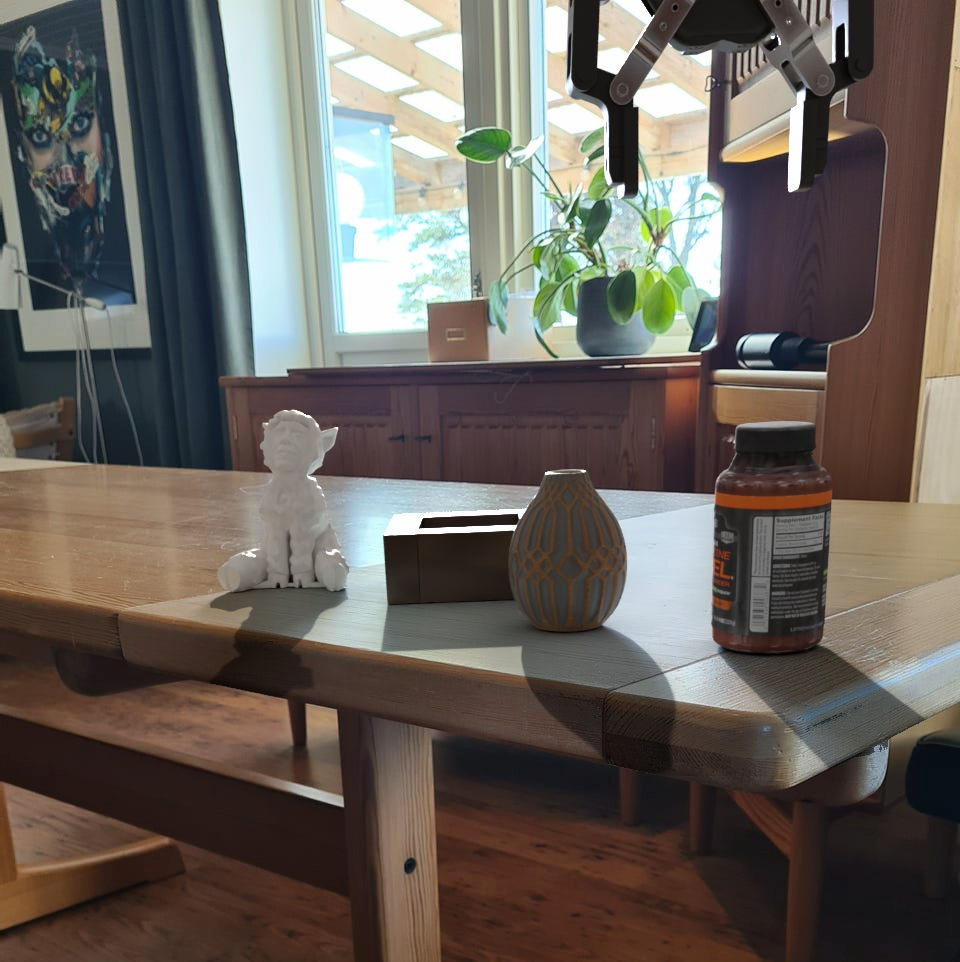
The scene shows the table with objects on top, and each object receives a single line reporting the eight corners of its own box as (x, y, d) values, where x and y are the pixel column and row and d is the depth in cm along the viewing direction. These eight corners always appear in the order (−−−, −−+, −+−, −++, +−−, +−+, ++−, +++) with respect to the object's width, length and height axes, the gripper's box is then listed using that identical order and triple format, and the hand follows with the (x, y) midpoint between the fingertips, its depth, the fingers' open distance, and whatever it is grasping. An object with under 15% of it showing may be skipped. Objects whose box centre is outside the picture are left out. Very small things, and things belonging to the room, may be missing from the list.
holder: (548, 570, 95) (547, 508, 93) (556, 597, 84) (555, 528, 83) (397, 576, 95) (393, 514, 93) (387, 604, 85) (382, 535, 83)
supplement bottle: (697, 636, 72) (702, 423, 67) (801, 630, 72) (812, 417, 68) (728, 660, 66) (735, 429, 62) (840, 652, 66) (854, 423, 62)
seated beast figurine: (215, 593, 91) (195, 416, 87) (254, 573, 99) (237, 409, 95) (344, 591, 90) (330, 411, 85) (373, 571, 98) (361, 405, 93)
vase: (550, 610, 80) (547, 465, 77) (648, 619, 77) (649, 466, 73) (487, 631, 75) (481, 476, 72) (588, 641, 71) (586, 478, 68)
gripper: (573, -246, 53) (579, 191, 59) (912, -258, 54) (884, 178, 59) (554, -176, 60) (562, 208, 66) (854, -187, 61) (835, 196, 66)
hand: (715, 194), depth 63 cm, fingers open, 8 cm apart
